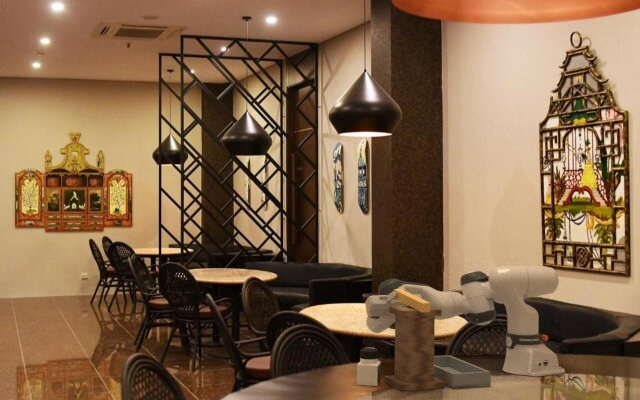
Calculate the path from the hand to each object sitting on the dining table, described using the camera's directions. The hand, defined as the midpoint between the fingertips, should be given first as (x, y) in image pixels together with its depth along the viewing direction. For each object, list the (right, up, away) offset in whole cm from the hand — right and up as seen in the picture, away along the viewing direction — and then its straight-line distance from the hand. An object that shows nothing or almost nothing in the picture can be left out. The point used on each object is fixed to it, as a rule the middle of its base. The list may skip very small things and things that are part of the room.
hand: (401, 293), depth 284 cm
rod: (+2, -3, -8) cm, 9 cm away
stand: (+3, -30, -11) cm, 32 cm away
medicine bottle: (-12, -30, -9) cm, 33 cm away
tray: (+17, -30, 0) cm, 34 cm away
